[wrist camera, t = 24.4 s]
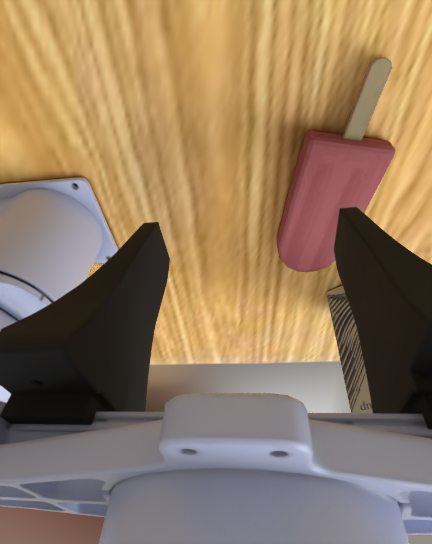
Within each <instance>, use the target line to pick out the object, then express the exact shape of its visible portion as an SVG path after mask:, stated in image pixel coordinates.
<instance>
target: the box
mask: <svg viewBox="0 0 432 544" xmlns="http://www.w3.org/2000/svg"><path fill="white" fill-rule="evenodd" d="M327 298H328V302H329V307H330V312H331V316H332V321H333V326H334V331H335V336H336V340H337V345H338V350H339V355H340V360H341V365H342V370H343V374H344V380H345V384H346V390H347V394H348V399H349V404H350V409H351V413H373V411H372V405H371V398H370V392H369V387H368V381H367V376H366V370H365V365H364V360H363V355H362V350H361V345H360V341H359V336H358V332H357V327H356V323H355V320H354V317H353V314H352V311H351V308H350V305H349V302H348V299H347V296H346V294H345V291H344V288H343V286H340V287H338V288H335V289H333V290H330V291H328V292H327Z"/></svg>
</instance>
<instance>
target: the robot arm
mask: <svg viewBox="0 0 432 544" xmlns="http://www.w3.org/2000/svg"><path fill="white" fill-rule="evenodd" d="M73 183H75V184H77V185H78V187H76V186H74V184H73ZM334 254H335V260H336V265H337V270H338V273H339V276H340V279H341V282H342V285H343V288H344V291H345V294H346V296H347V299H348V302H349V305H350V308H351V311H352V314H353V317H354V320H355V323H356V327H357V332H358V336H359V341H360V345H361V350H362V355H363V360H364V365H365V370H366V376H367V381H368V387H369V392H370V398H371V405H372V411H373V413H307V410H306V408H305V406H304V404H303V403H302V402H300V401H299V400H297V399H295V398H292V397H290V396H288V395H279V394H271V393H263V394H261V393H259V394H258V393H251V394H250V393H246V394H245V393H236V394H235V393H234V394H233V393H232V394H231V393H230V394H228V393H225V394H223V393H222V394H221V393H220V394H218V393H216V394H215V393H213V394H212V393H210V394H206V393H205V394H204V393H203V394H201V393H200V394H199V393H197V394H186V395H178V396H176V397H175V398H173V399H171V400H170V401H168V402H167V403H166V404H165V410H164V412H145V406H146V393H147V382H148V373H149V364H150V356H151V349H152V342H153V335H154V330H155V325H156V321H157V317H158V313H159V309H160V306H161V302H162V298H163V295H164V291H165V287H166V283H167V278H168V271H169V261H170V258H169V255H168V252H167V249H166V246H165V242H164V239H163V236H162V233H161V230H160V226H159V223H158V222H153V223H144V224H143V225H142V226H141V227H140V228H139V229H138V230H137V231H136V232H135V233H134V234H133V235H132V236H131V237H130V238H129V240H128V241H127V242H126V243H125V244H124V245H123V246H122V247H121V248H120V249H119V250H118V248H117V245H116V243H115V241H114V238H113V236H112V234H111V232H110V229H109V227H108V225H107V222H106V220H105V218H104V215H103V213H102V211H101V209H100V206H99V204H98V202H97V199H96V197H95V195H94V192H93V190H92V188H91V185H90V183H89V182H88V180H87V179H85V178H83V177H77V178H65V179H54V180H42V181H31V182H19V183H8V184H0V506H6V507H17V508H28V509H37V510H47V511H56V512H65V513H74V514H82V515H91V516H100V517H105V521H104V525H103V529H102V533H101V537H100V541H99V544H409V541H408V538H407V534H419V535H420V534H421V535H422V534H423V535H428V534H432V265H431V264H430V263H428V262H426V261H425V260H423V259H421V258H420V257H418V256H417V255H415V254H414V253H412V252H411V251H409V250H408V249H407V248H405V247H404V246H402V245H401V244H400V243H398V242H397V241H396V240H394V239H393V238H392V237H391V236H389V235H388V234H387V233H386V232H385V231H383V230H382V229H381V228H380V227H379V226H377V225H376V224H375V223H374V222H373V221H372V220H371V219H370V218H368V217H367V216H366V215H365V214H364V213H363V212H362V211H361V210H360V209H358V208H357V207H349V208H340V210H339V216H338V223H337V230H336V236H335V243H334ZM108 256H109V257H108ZM110 257H111V258H110ZM94 263H105V264H104V265H103V266H102V267H100V268H99V269H98V270H97V271H96V272H95V273H94V274H92V275H91V276H90V277H89V278H87V276H88V274H89V272H90V270H91V268H92V266H93V264H94ZM86 278H87V279H86Z"/></svg>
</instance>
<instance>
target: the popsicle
mask: <svg viewBox="0 0 432 544" xmlns="http://www.w3.org/2000/svg"><path fill="white" fill-rule="evenodd" d="M391 69H392V64H391V61H390V60H389V59H387V58H385V57H379V58H375V59H374V60H373V61H372V62H371V63H370V65H369V67H368V70H367V72H366V75H365V78H364V80H363V83H362V86H361V88H360V91H359V94H358V96H357V99H356V101H355V104H354V107H353V109H352V112H351V115H350V117H349V120H348V123H347V125H346V128H345V130H344V133H343V135H341V134H333V133H326V132H319V131H308V132H307V134H306V135H305V138H304V142H303V145H302V149H301V152H300V156H299V159H298V162H297V166H296V169H295V173H294V176H293V180H292V183H291V186H290V190H289V194H288V198H287V201H286V205H285V209H284V213H283V217H282V220H281V224H280V228H279V232H278V236H277V246H278V252H279V257H280V259H281V260H282V261H283V262H284V263H285V264H286V265H287V266H288V267H289V268H291V269H294V270H296V271H301V272H311V271H318V270H320V269H323V268H325V267H327V266H330V265H331V264H332V263H333V262H334V261H335V254H334V243H335V236H336V230H337V223H338V216H339V210H340V208H349V207H357V208H358V209H360V210H361V211H362V212H363V213H364V212H365V210H366V208H367V206H368V204H369V202H370V201H371V199H372V197H373V195H374V193H375V191H376V189H377V187H378V185H379V183H380V181H381V179H382V177H383V176H384V174H385V172H386V170H387V168H388V166H389V164H390V162H391V160H392V158H393V156H394V154H395V148H394V147H393V146H392V144H391V143H390V142H388V141H386V140H378V139H371V138H363V135H364V133H365V131H366V128H367V126H368V123H369V121H370V119H371V116H372V114H373V112H374V109H375V107H376V105H377V102H378V100H379V98H380V95H381V93H382V90H383V88H384V86H385V83H386V81H387V79H388V76H389V74H390V72H391Z"/></svg>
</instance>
